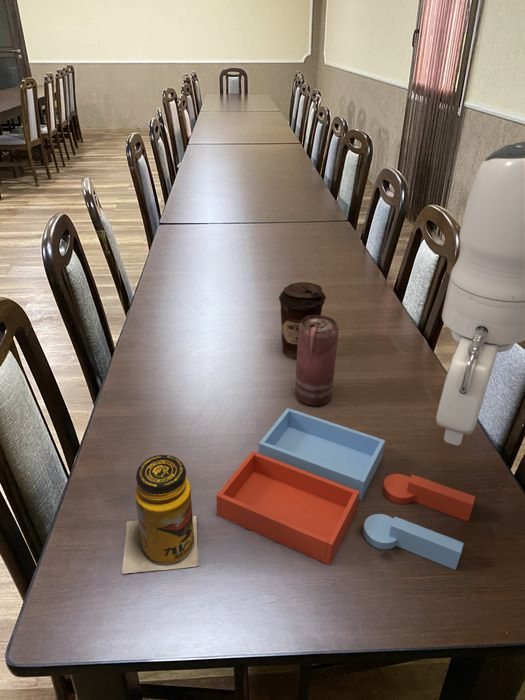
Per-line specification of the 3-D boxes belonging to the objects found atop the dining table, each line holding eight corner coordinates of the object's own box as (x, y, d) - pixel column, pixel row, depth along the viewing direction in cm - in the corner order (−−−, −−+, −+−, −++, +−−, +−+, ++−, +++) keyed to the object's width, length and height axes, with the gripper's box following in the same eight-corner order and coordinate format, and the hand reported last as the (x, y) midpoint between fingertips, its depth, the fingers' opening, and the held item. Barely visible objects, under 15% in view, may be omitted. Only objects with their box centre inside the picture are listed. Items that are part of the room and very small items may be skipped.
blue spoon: (460, 551, 63) (466, 533, 62) (453, 579, 60) (458, 562, 59) (369, 515, 68) (372, 498, 66) (357, 540, 65) (360, 523, 63)
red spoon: (472, 505, 70) (477, 489, 68) (465, 529, 66) (471, 512, 65) (387, 475, 74) (390, 459, 72) (378, 496, 71) (381, 480, 69)
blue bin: (382, 458, 77) (385, 440, 75) (361, 501, 70) (364, 481, 68) (286, 425, 83) (287, 407, 81) (258, 462, 76) (258, 443, 74)
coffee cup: (325, 363, 98) (332, 299, 92) (281, 365, 97) (284, 300, 91) (315, 339, 106) (320, 278, 99) (273, 341, 105) (276, 280, 98)
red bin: (356, 510, 68) (359, 491, 67) (329, 565, 61) (332, 544, 60) (252, 469, 74) (252, 450, 73) (216, 515, 67) (216, 495, 66)
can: (291, 405, 87) (295, 330, 80) (298, 383, 93) (303, 311, 85) (328, 411, 86) (336, 335, 79) (333, 389, 91) (341, 316, 84)
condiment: (198, 566, 61) (193, 490, 55) (121, 574, 60) (107, 498, 54) (196, 516, 67) (191, 443, 61) (127, 523, 66) (115, 449, 60)
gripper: (510, 365, 46) (474, 483, 53) (531, 280, 61) (501, 381, 68) (435, 346, 48) (410, 462, 55) (473, 269, 64) (450, 367, 71)
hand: (460, 416), depth 62 cm, fingers open, 8 cm apart
